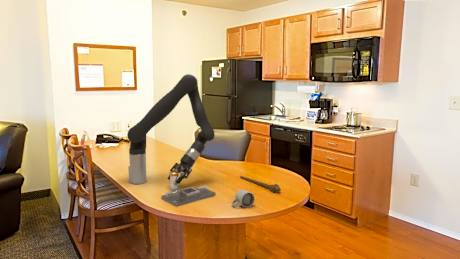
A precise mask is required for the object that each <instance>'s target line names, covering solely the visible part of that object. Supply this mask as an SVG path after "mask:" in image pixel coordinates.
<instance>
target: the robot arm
mask: <svg viewBox="0 0 460 259" xmlns="http://www.w3.org/2000/svg"><path fill="white" fill-rule="evenodd" d="M186 95H187V97H188V99H189V102H190V106H191V111H192V114H193V117H194V121H195V123H196V126H198V127H199V128H200V131H199V132H198V133H197V135H196V138H195V139H194V142H192V144H191V145H190V146H189V148H188V149H187V150H186V151H185V152H184V154H183V156H182V157H181V158H180V160H179V161H180V163H178V162H175V164H174V165H173V166H172V167H171V168H170V169H169V172H172V171H177V172H179V176H178V179H177V181H176V183H177V184H178V185H180V184H181V183H182V181H183V180H185V179H188V178H189V176H190V174H191V173H192V171H193V169H192V167H193V166H194V164H195V163H196V161H198V159H199V157H200V155H201V154H202V152H203V151H204V150H205V145H206V143H207V142H210V141H213V140H214V138H215V130H214V128H213V126H212V125H211V123H210V121H209V119H208V115H207V113H206V110H205V107H204V104H203V102H202V99H201V96H200V91H199V86H198V79H197V78H196V76H194V75H193V74H185V75H183V76H181V78H180V80H179V81H178V82H177V83H176V85H175V86H174V87H173V88H171V90H170V91H168V92H167V93H166V94H165V95H164V96H162V98H161V99H159V100H158V101H157V102H156V103H155V104H154V105H153V106H152V107H151V108H150V109H149V111H148V112H147V113H146V114H145V115H144V116H143V118H142V119H141V120H140V121H138V122H137V123H136V124H134V125H133V126H132V127H131V128H129V130H128V131H127V139H128V140H129V149H128V153H129V154H128V155H129V165H128V183H130V184H133V185H141V184H145V183H146V182H148V181H147V157H146V156H147V134H148V133H149V132H150V131H151V130H152V129H153V127H156V125H158V124H159V123H161V122H162V121H163V120H164V119H165V118H167V116H169V115H170V114H171V113H172V111H174V109H175V108H176V106H178V104H179V103H180V101H181V100H182V99H183V98H184V97H185V96H186ZM167 180H169V181H170V174H169V175H168V177H167Z"/></svg>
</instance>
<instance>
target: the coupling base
mask: <svg viewBox="0 0 460 259" xmlns="http://www.w3.org/2000/svg"><path fill="white" fill-rule="evenodd" d="M209 189H210V188H209V185H208V184H207V185H203V186H199V185H198V186H195V187H191V186H190V187H186V188H181V189H178V191H174V192H173V191H167V192H164V193H165V194H163V195H161V199H162V200H163V201H165V202H168V203H169V204H171V205H173V206H175V207H179V206H183V205H186V204H190V203H194V202H197V201H201V200H204V199H208V198H211V197H214V196H216V192H215V191H212V190H209Z"/></svg>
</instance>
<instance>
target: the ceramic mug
mask: <svg viewBox="0 0 460 259" xmlns="http://www.w3.org/2000/svg"><path fill="white" fill-rule="evenodd" d="M234 196H235V199H233V200H232V201H231V206H232V207H233V208H239V207H241V206H242V207H243V208H247V209H248V208H250V207H252V206H253V204H254V203H255V200H256V199H255V195H254V193H252V192H251V191H248V190H246V189H240V190H237V192H236V193H235V195H234ZM235 203H236V204H235Z"/></svg>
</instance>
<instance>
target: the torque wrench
mask: <svg viewBox="0 0 460 259" xmlns="http://www.w3.org/2000/svg"><path fill="white" fill-rule="evenodd" d="M239 178H240V179H242V180H245V181H248V182H251V183H253V184H257V185H260V186H262V187H265V188H268V189H270V190H271V191H272V192H273V193H275V194H276V193H280V192H281V187H280V185H279V184H277V183H275V184H268V183H265V182H261V181H259V180H255V179H252V178H250V177H249V178H248V177H246V176H243V175H240V176H239Z"/></svg>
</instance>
